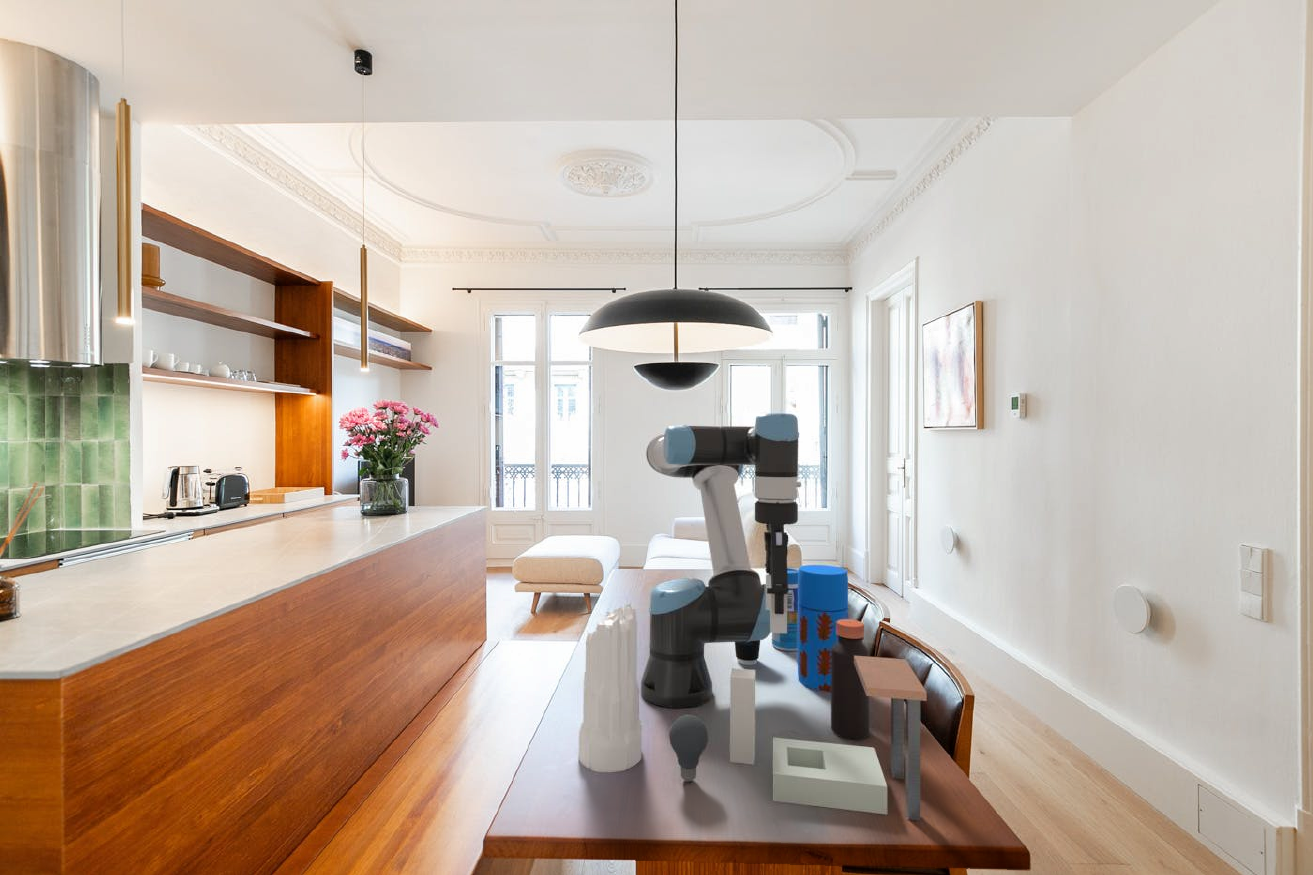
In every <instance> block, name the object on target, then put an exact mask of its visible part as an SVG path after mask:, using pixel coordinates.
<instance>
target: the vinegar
mask: <svg viewBox="0 0 1313 875" xmlns="http://www.w3.org/2000/svg"><path fill="white" fill-rule="evenodd" d="M836 634H837V637H838V641H837V642H836V643H835V644H834V645H833V646H832V647H831V691H830V729H831V731H832V732H833V733H834V734H835V735H837V736H839V737H841V738H842V739H847V740H853V741H855V740H857V741H858V740H859V741H860V740H863V739H866V738H868V737H869V735H870V696H866V693H865V690H864V688H863V685H862V683H861V680H860V677H859V675H858V672H857V670H856V667H855V665H854V656H866V657H871V656H870V651H869V648H867V647H866V645H864V643H863V640H865V638H864V637H865V623H864V622H862V621H859V620H857V619H850V618H848V619H841V620H838V621H837V622H836Z"/></svg>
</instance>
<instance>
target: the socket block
mask: <svg viewBox="0 0 1313 875" xmlns="http://www.w3.org/2000/svg"><path fill="white" fill-rule="evenodd" d="M773 801H774V802H779V803H780V802H781V803H788V804H789V803H790V804H796V805H797V804H798V805H806V806H812V807H814V806H815V807H821V808H830V809H836V810H838V809H839V810H846V811H847V810H848V811H854V812H861V813H862V812H863V813H872V814H879V815H888V785H887V782H886V779H885V775H884V772H883V770H882V767H881V765H880V761H879V757H878V756H877V752H876V750H875V747H871V746H862V745H861V746H859V745H851V744H841V743H831V742H820V741H812V740H800V739H793V738H792V739H791V738H783V737H782V738H781V737H772V802H773Z"/></svg>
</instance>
